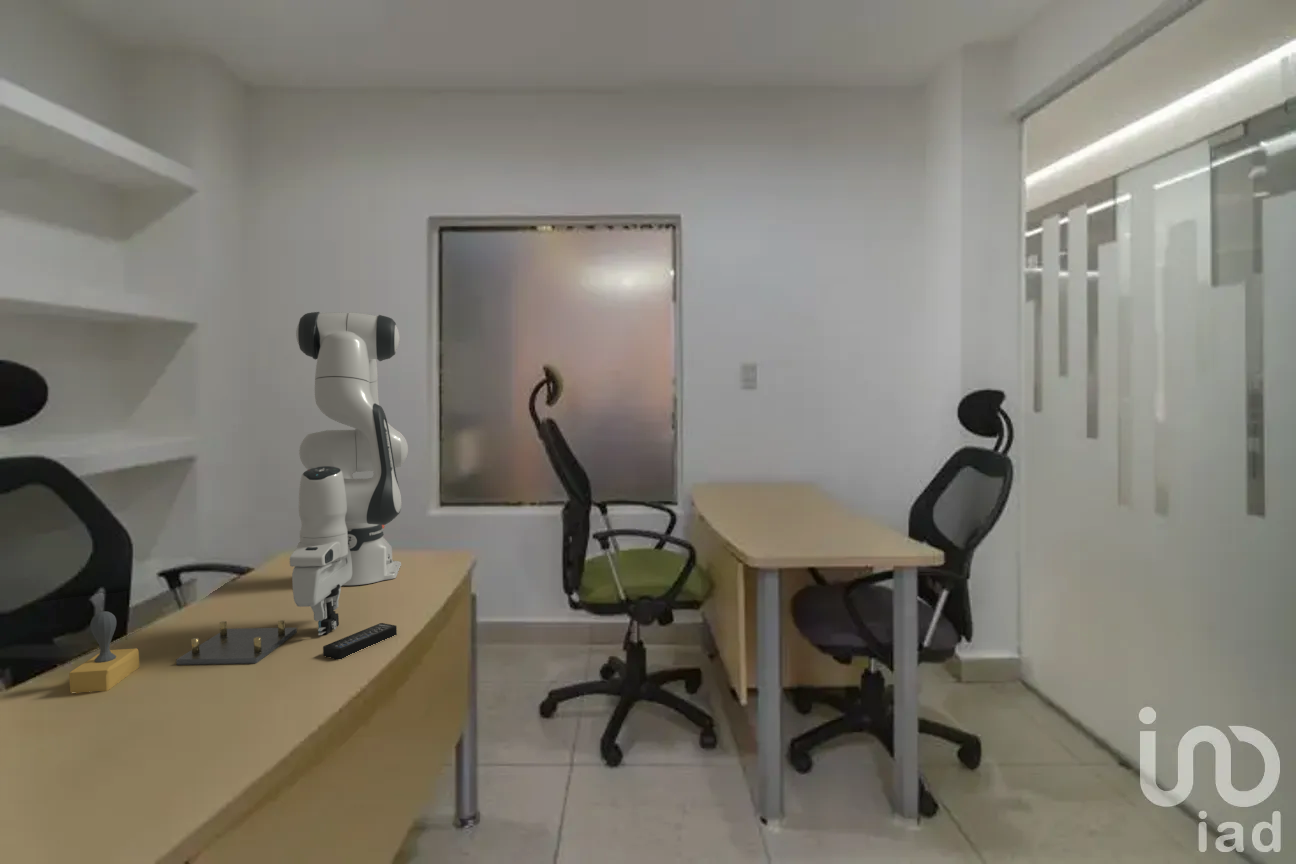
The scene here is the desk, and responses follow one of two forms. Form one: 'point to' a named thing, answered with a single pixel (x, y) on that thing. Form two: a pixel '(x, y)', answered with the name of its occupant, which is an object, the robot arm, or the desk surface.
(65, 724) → the desk surface
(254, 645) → the chassis
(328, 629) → the push button
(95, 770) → the desk surface
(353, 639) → the multiport hub
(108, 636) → the rubber stamp
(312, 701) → the desk surface
